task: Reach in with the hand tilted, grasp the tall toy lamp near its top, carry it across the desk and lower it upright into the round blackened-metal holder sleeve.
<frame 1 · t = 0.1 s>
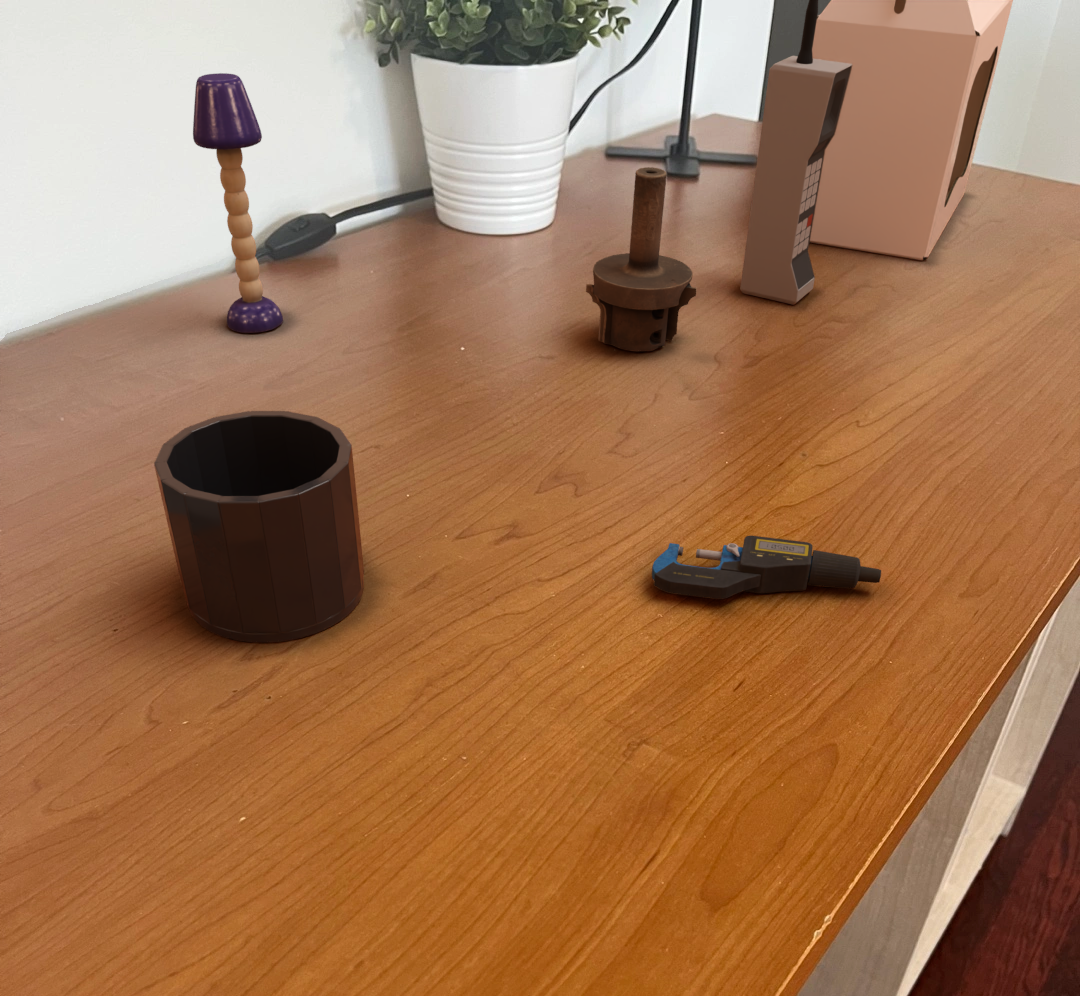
micrometer: (762, 590, 61), on the table
holder: (276, 590, 60), on the table
gable box: (876, 217, 109), on the table
vintage mobile phone: (775, 295, 94), on the table
industrial component: (646, 345, 85), on the table
toy lamp: (256, 323, 87), on the table
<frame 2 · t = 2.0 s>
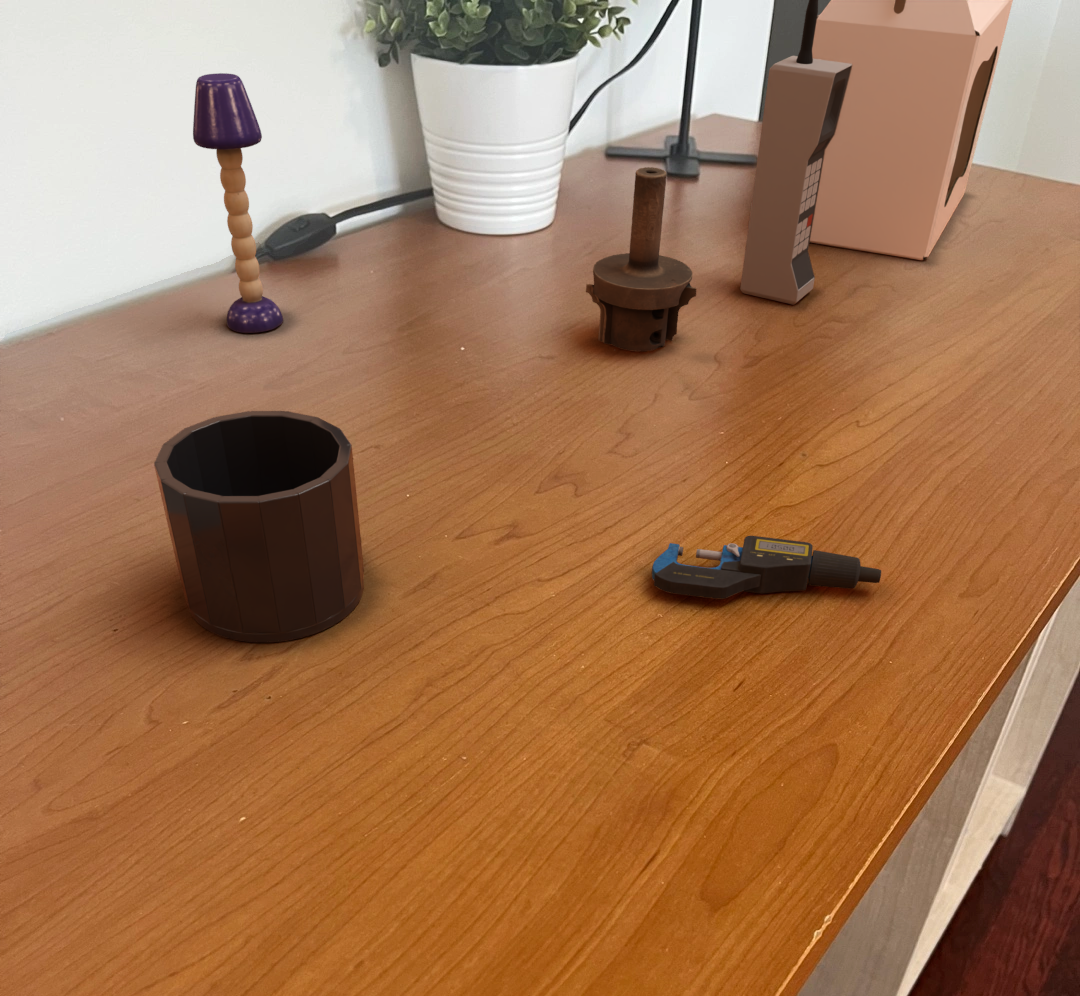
nothing on the table moved.
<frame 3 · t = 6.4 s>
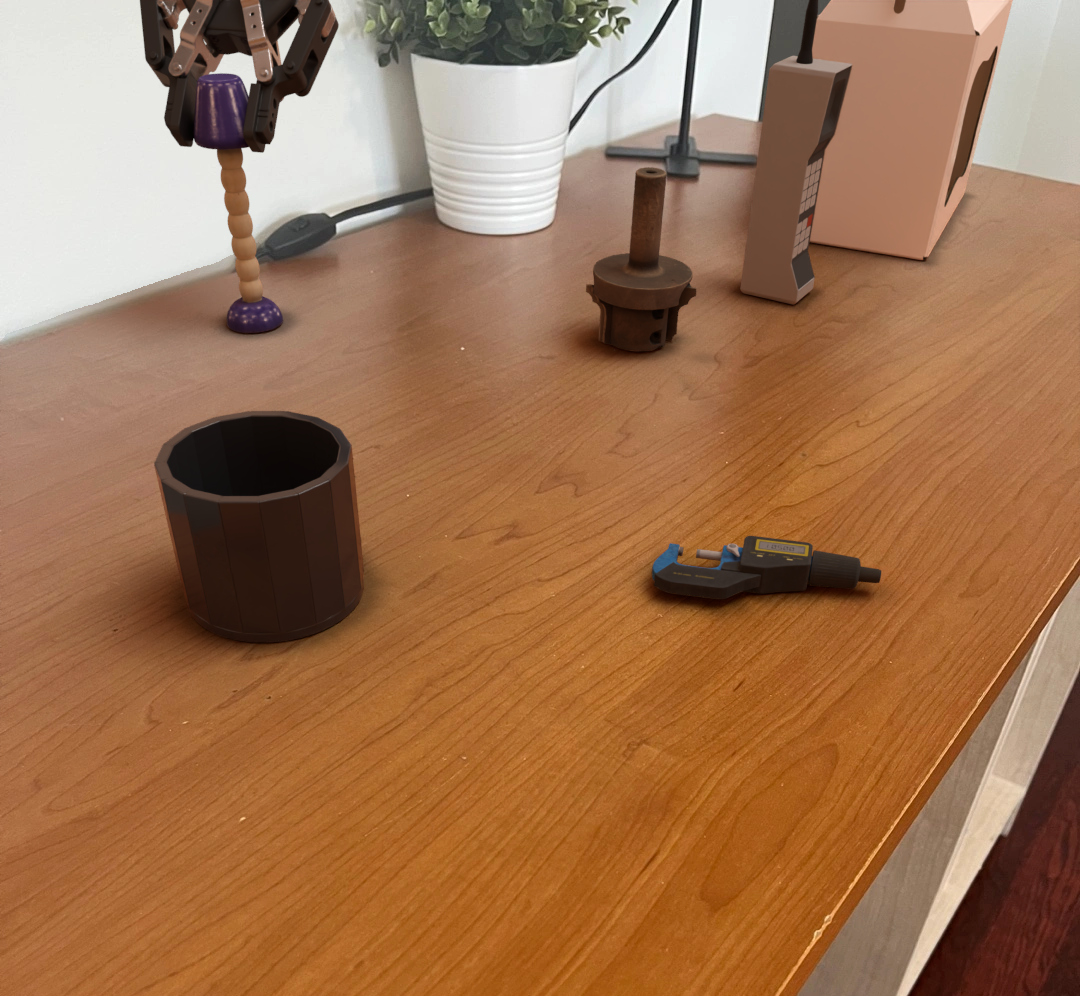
hand: (217, 141, 77), 13 cm above the table, tool tilted 45°, fingers closed on toy lamp, 4 cm apart
toy lamp: (255, 323, 87), on the table, touching gripper
everything else where it was.
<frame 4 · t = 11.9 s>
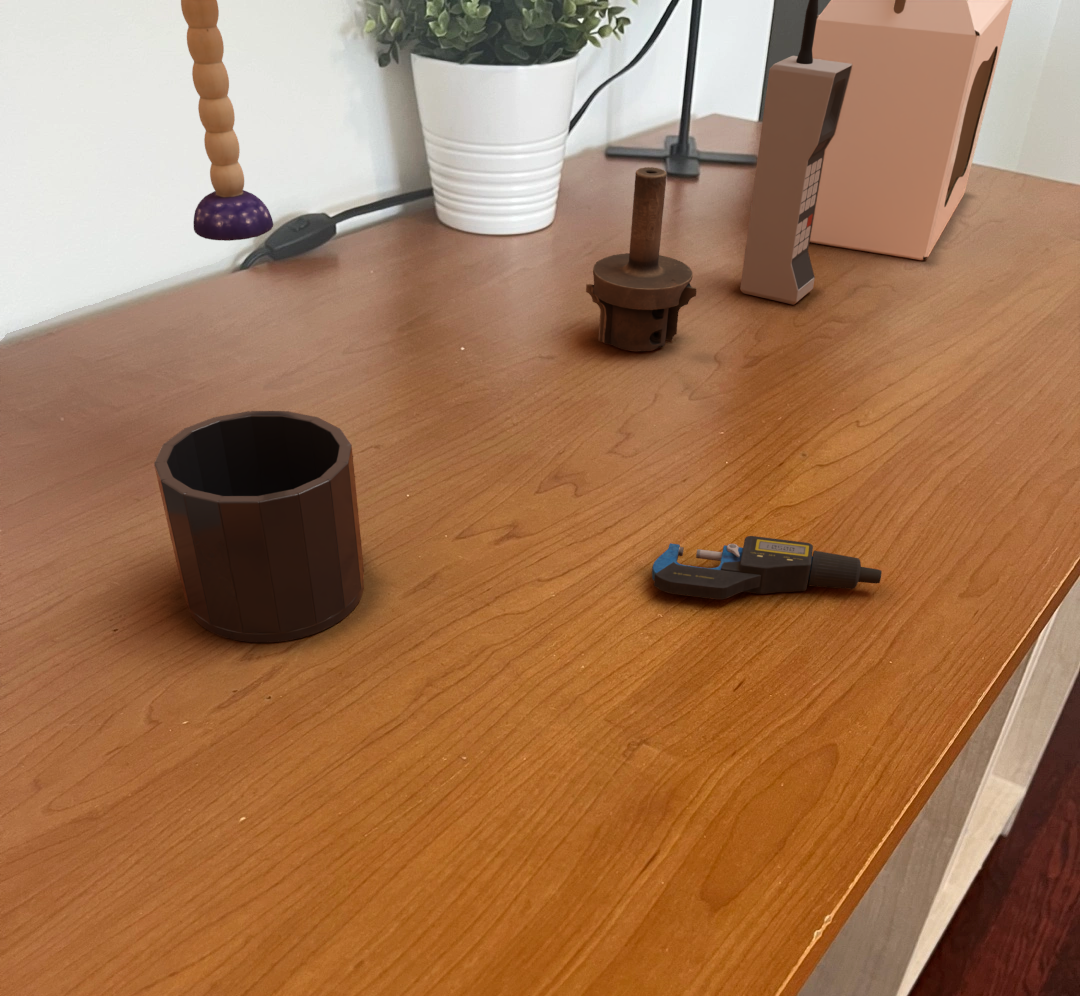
toy lamp: (235, 230, 62), point 14 cm above the table, touching gripper
everything else where it was.
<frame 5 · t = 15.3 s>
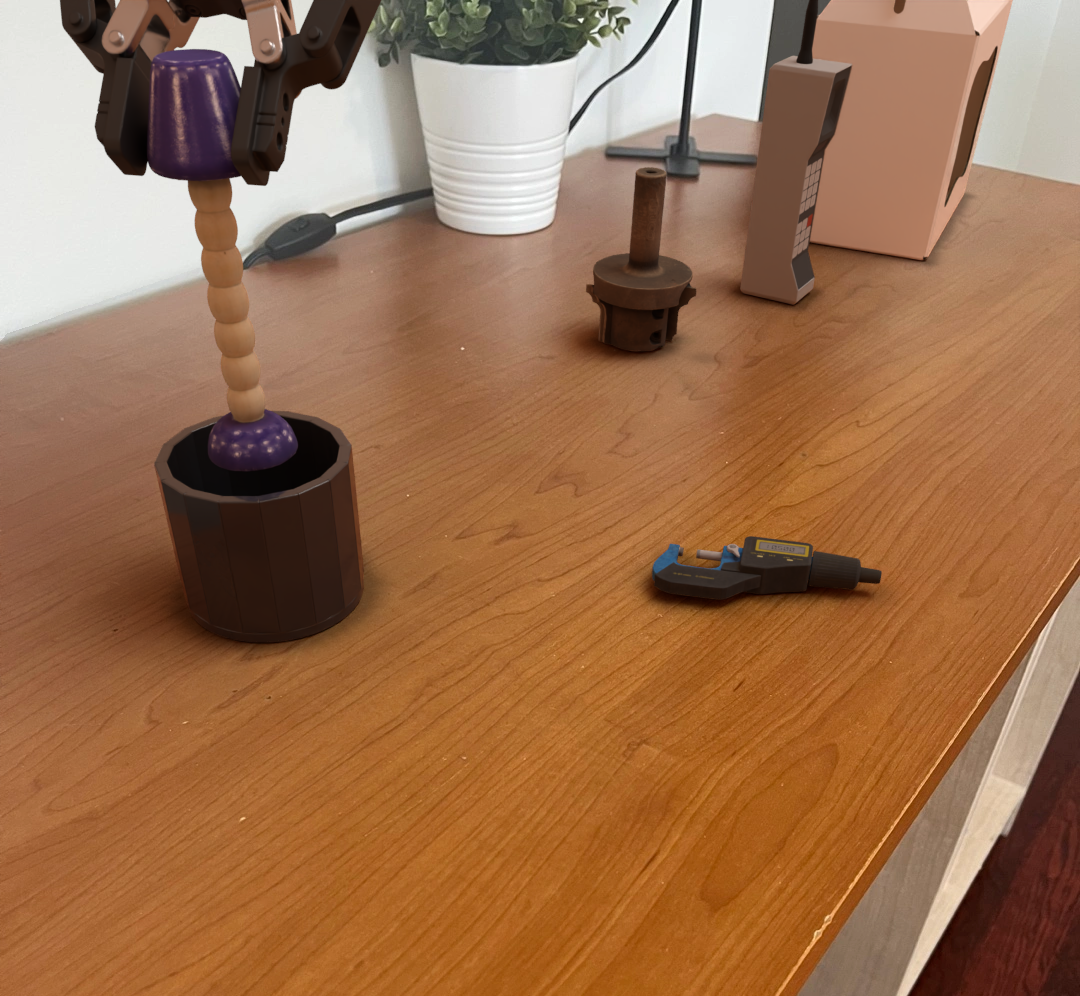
hand: (186, 168, 44), 21 cm above the table, tool tilted 45°, fingers closed on toy lamp, 4 cm apart
toy lamp: (254, 451, 55), point 8 cm above the table, touching gripper
everything else where it was.
when the fingers open (14 cm above the table, at t = 17.8 s): toy lamp stays where it is, resting on holder.
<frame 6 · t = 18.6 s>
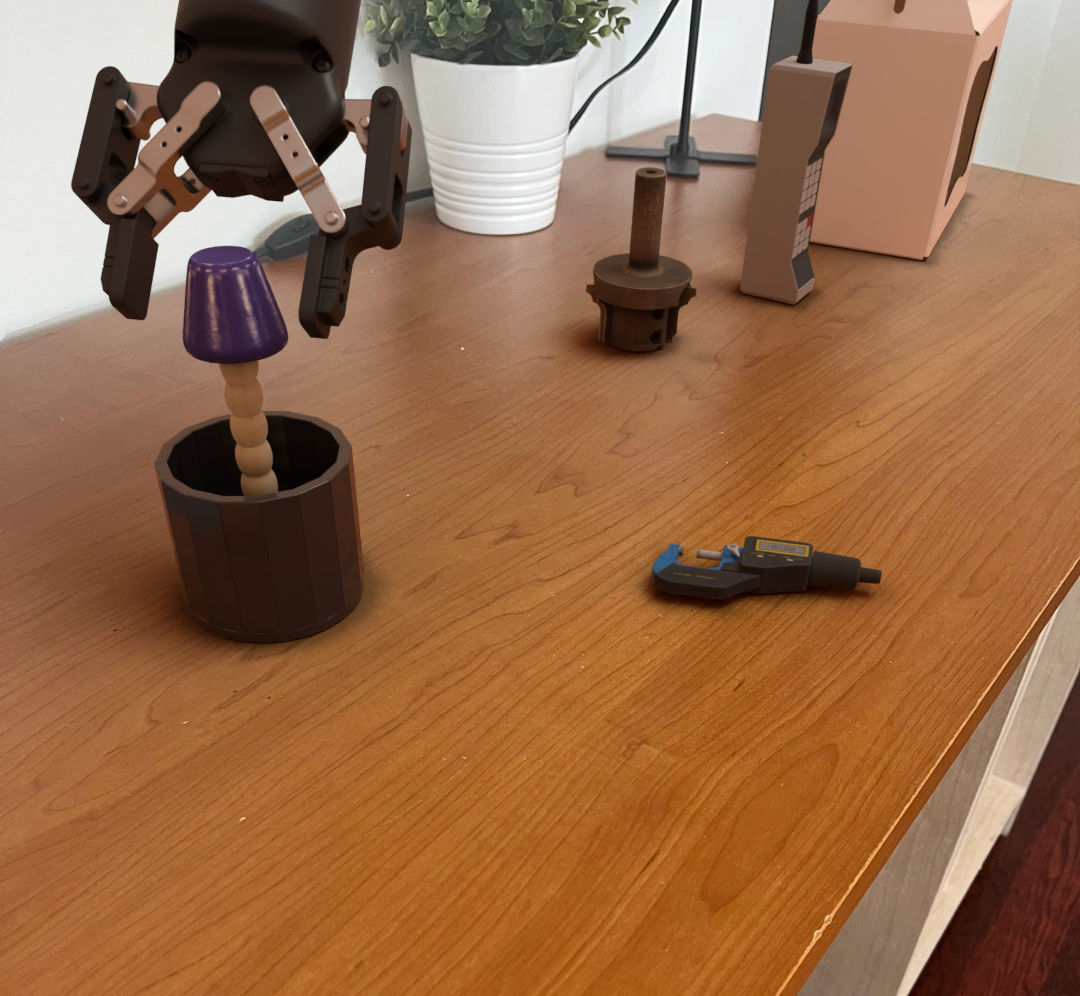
hand: (219, 322, 49), 15 cm above the table, tool tilted 45°, fingers open, 8 cm apart
toy lamp: (276, 582, 60), resting on holder
everything else where it was.
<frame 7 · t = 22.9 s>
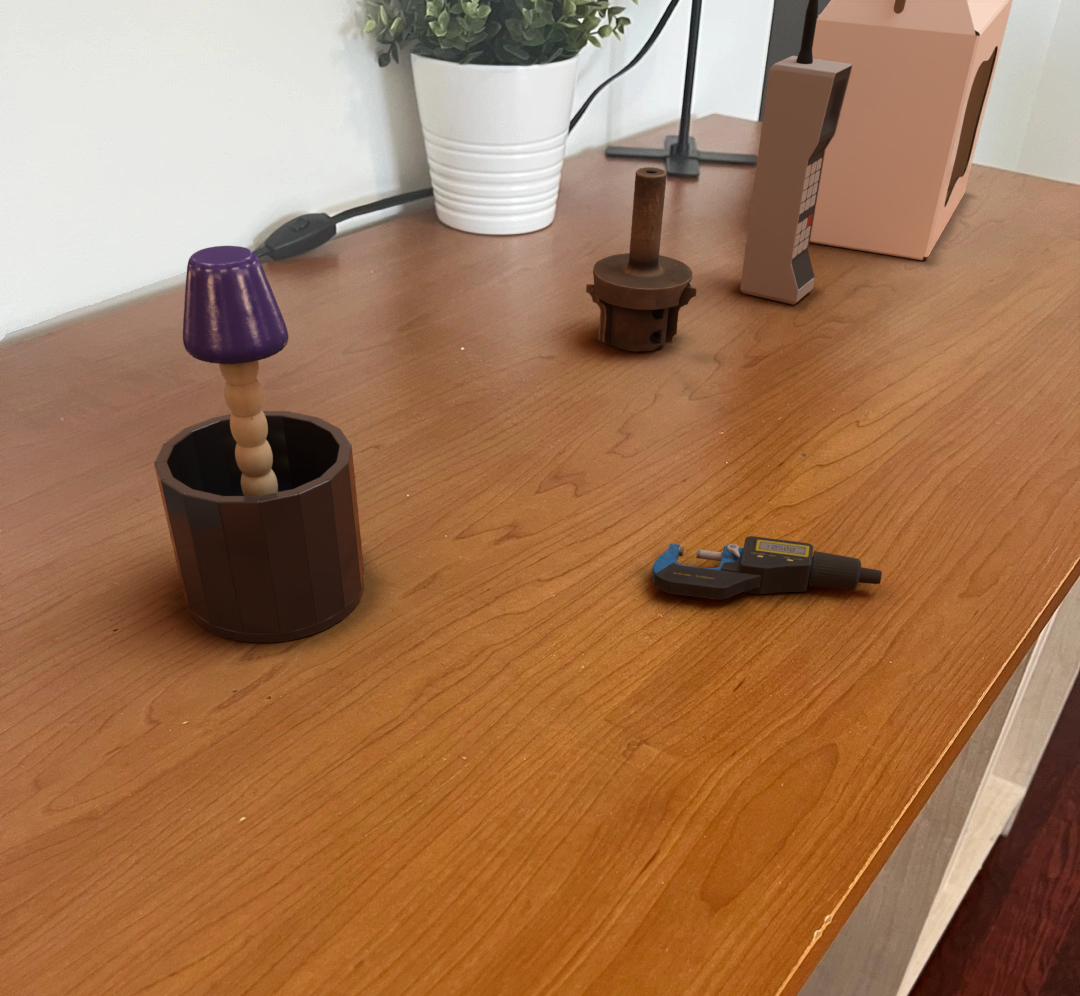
nothing on the table moved.
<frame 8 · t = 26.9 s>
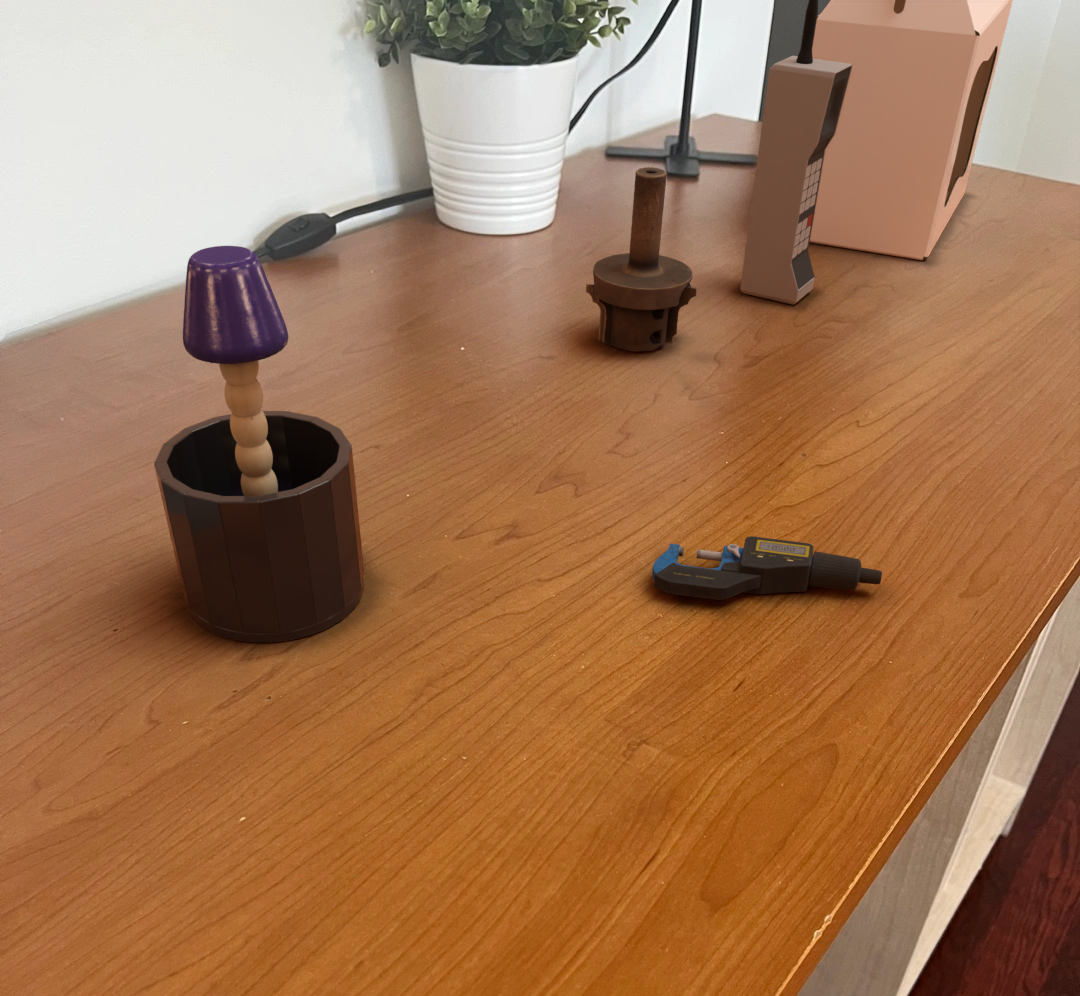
nothing on the table moved.
at the end: toy lamp 0.2 cm off-centre in the holder, point 0.4 cm above the holder's base; toy lamp tilted 0°; the gripper is holding nothing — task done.
